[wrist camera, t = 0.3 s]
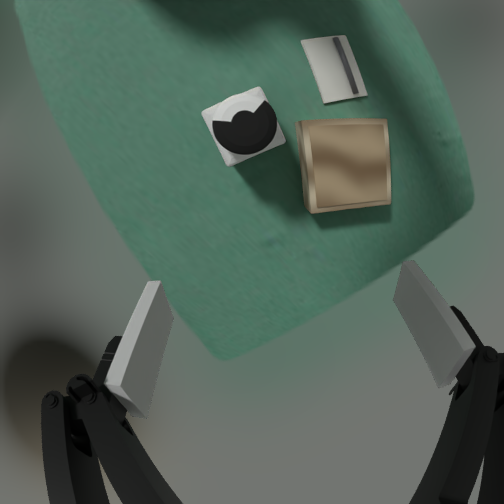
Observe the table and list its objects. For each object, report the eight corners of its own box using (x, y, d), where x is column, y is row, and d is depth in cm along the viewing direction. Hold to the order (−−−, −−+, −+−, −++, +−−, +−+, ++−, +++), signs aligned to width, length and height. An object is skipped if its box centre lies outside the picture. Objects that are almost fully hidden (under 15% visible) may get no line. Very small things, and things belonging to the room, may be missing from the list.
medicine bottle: (278, 141, 35) (296, 143, 24) (229, 162, 35) (225, 173, 24) (256, 95, 32) (264, 75, 21) (207, 116, 33) (192, 106, 22)
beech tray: (294, 122, 34) (301, 120, 30) (373, 119, 33) (387, 118, 29) (304, 206, 38) (311, 214, 34) (378, 197, 38) (391, 204, 34)
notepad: (299, 42, 29) (302, 38, 27) (342, 36, 28) (347, 33, 27) (322, 103, 33) (326, 102, 31) (364, 96, 32) (370, 94, 31)
